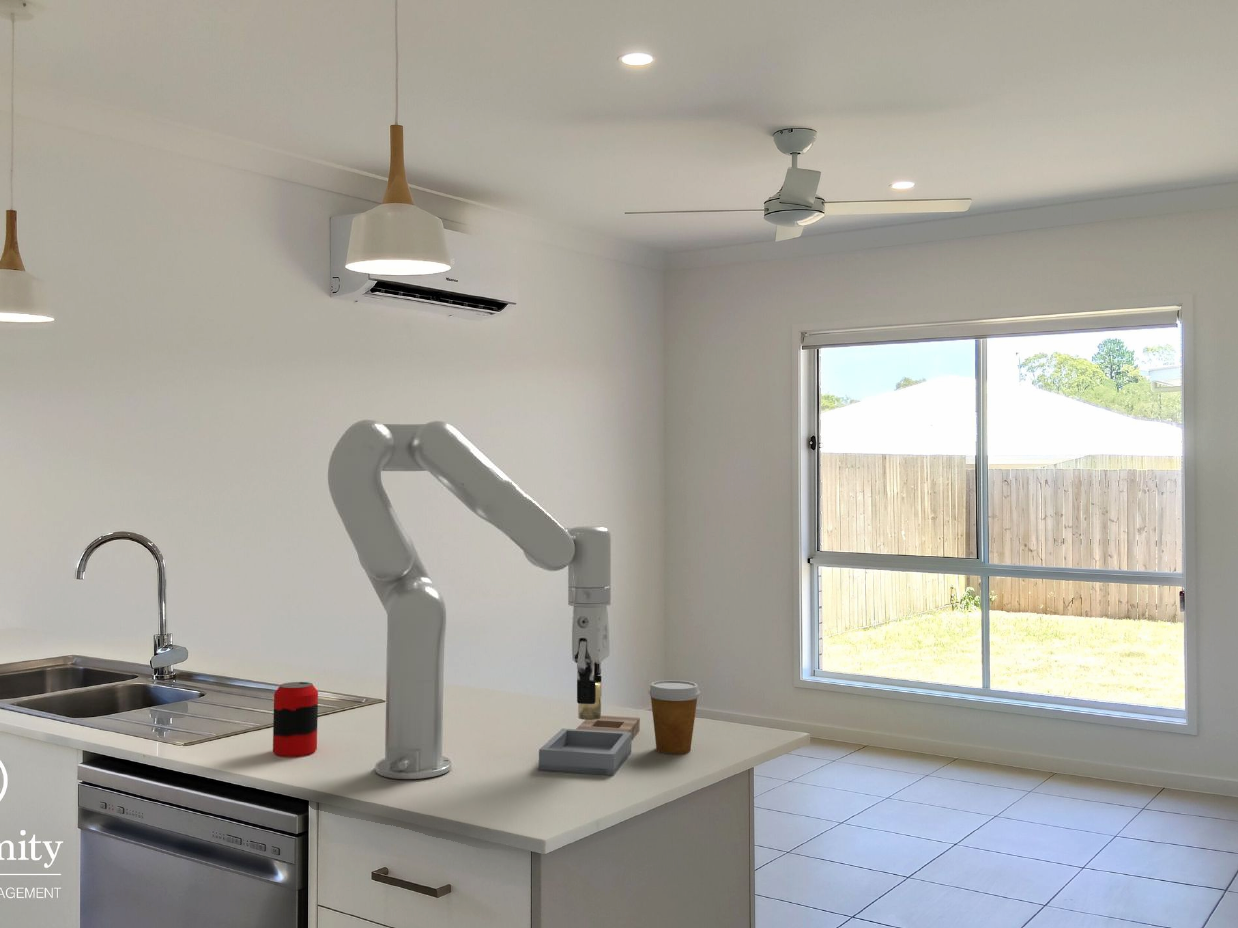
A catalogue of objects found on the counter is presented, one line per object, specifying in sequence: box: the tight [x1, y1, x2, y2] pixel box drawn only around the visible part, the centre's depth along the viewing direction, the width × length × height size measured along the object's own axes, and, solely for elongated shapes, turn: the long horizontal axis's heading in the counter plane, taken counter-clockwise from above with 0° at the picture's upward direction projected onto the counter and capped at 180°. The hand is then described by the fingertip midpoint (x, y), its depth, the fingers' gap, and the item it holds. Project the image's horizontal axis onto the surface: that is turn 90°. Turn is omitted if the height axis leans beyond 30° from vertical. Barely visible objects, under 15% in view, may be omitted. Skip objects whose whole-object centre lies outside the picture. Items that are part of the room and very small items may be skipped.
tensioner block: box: [575, 715, 641, 741], centre depth 201 cm, size 14×10×2 cm
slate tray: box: [538, 728, 633, 776], centre depth 183 cm, size 16×13×4 cm
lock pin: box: [577, 681, 602, 721], centre depth 184 cm, size 4×4×6 cm
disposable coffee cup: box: [647, 679, 701, 755], centre depth 192 cm, size 10×10×12 cm
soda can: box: [272, 681, 319, 758], centre depth 187 cm, size 8×8×12 cm
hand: (589, 699), depth 184 cm, fingers closed on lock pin, 4 cm apart
